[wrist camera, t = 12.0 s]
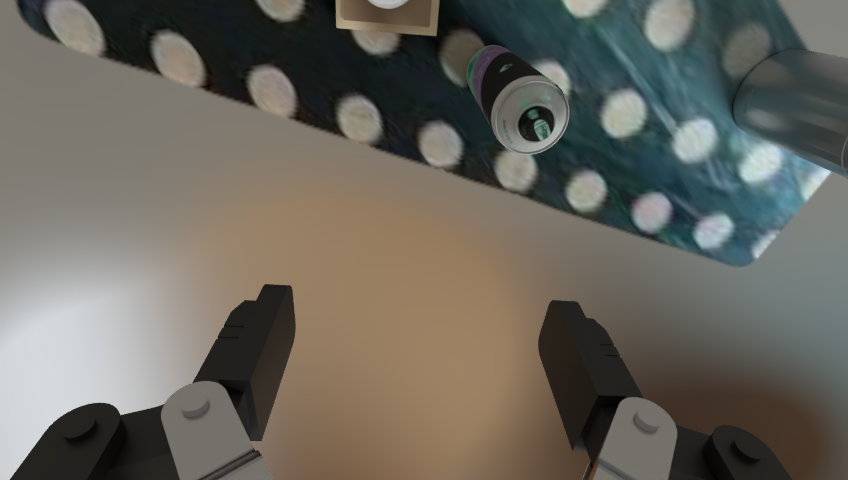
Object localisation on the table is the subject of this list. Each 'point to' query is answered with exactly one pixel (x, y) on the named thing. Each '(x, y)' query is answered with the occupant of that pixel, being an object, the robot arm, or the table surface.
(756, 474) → the robot arm
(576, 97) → the table surface
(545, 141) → the spray can
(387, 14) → the base block
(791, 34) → the table surface
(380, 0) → the supplement bottle
